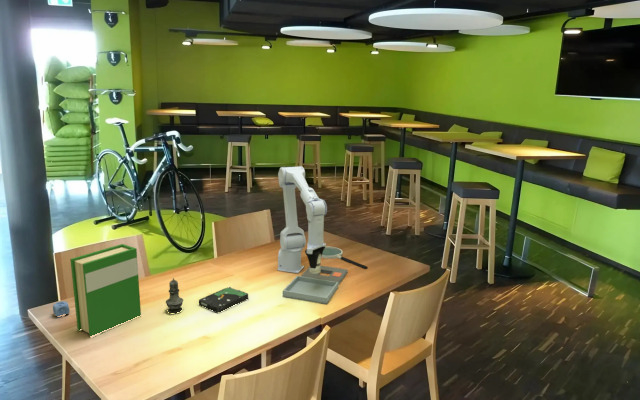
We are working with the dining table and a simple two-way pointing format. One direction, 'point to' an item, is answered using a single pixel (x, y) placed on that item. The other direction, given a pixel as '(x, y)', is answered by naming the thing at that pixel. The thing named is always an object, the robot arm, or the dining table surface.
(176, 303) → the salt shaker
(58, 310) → the decorative dice
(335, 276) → the fuse holder
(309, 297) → the parts tray
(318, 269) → the fuse
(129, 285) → the hardback book
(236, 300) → the disk drive
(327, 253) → the magnifying glass
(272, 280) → the dining table surface
